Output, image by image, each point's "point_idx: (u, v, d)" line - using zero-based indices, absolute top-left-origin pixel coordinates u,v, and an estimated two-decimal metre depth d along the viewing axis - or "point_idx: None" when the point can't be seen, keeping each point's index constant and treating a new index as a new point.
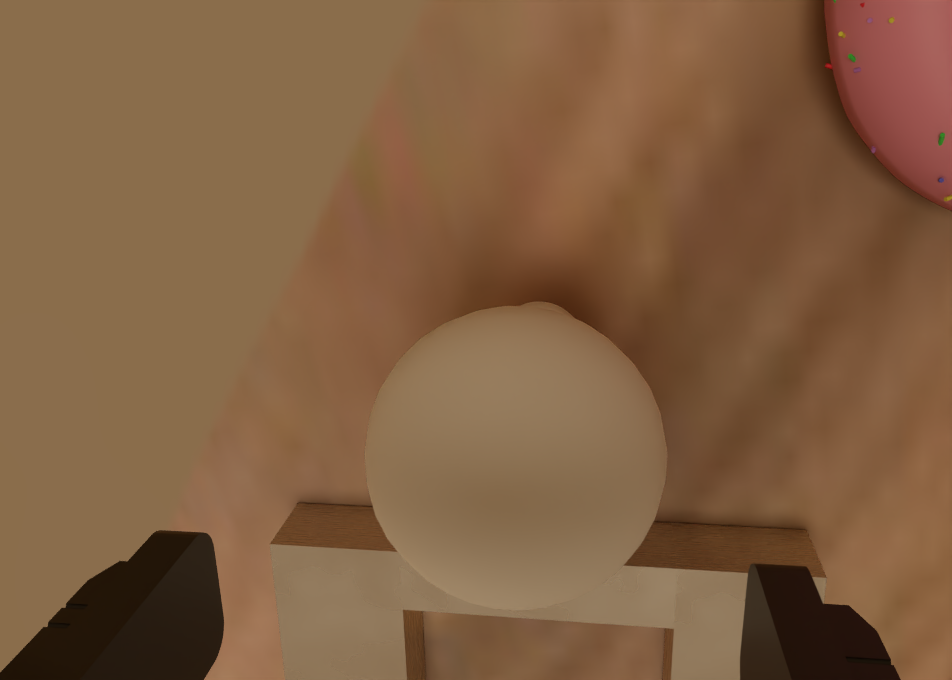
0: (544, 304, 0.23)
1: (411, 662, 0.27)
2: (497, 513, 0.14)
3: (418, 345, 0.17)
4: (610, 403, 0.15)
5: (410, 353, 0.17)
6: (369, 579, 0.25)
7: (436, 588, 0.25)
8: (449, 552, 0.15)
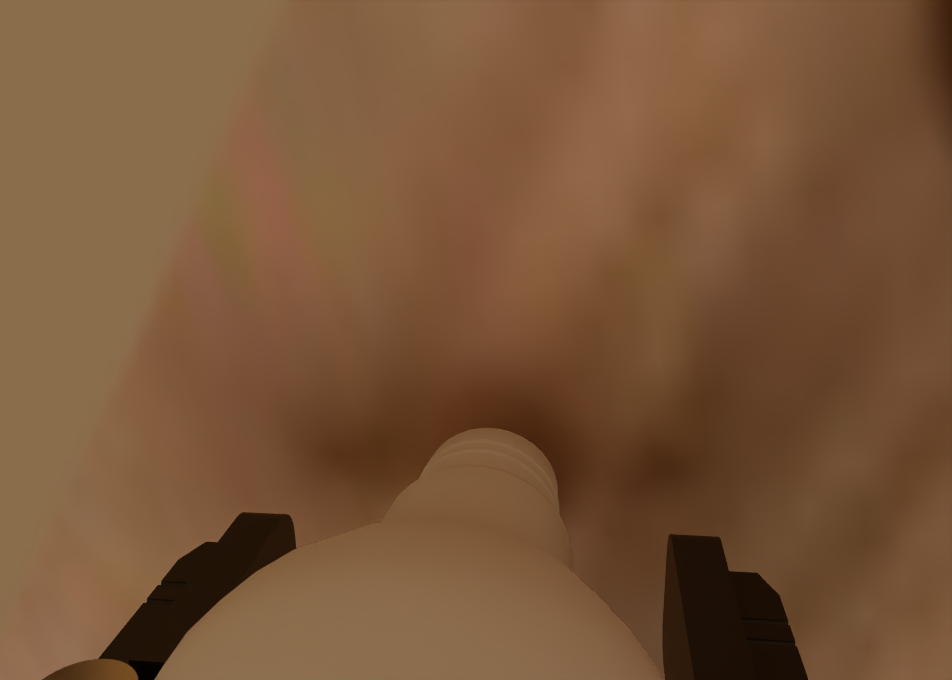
0: (496, 435, 0.15)
1: None
2: None
3: (205, 631, 0.08)
4: None
5: (188, 649, 0.08)
6: None
7: None
8: None
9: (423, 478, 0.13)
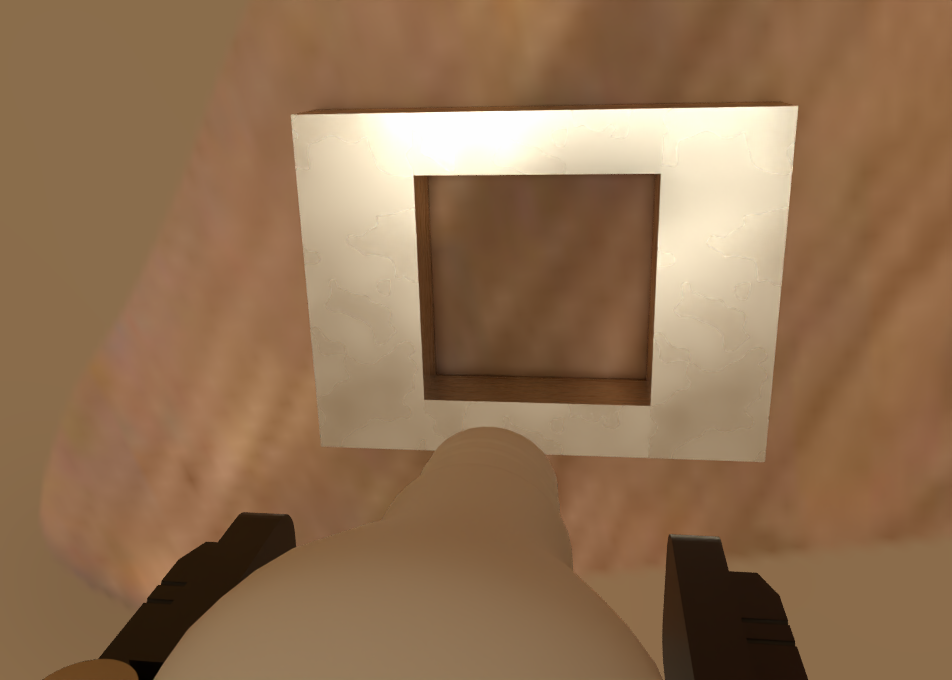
0: (496, 434, 0.15)
1: (420, 244, 0.29)
2: None
3: (205, 629, 0.08)
4: None
5: (188, 647, 0.08)
6: (382, 145, 0.28)
7: (444, 149, 0.28)
8: None
9: (423, 477, 0.13)
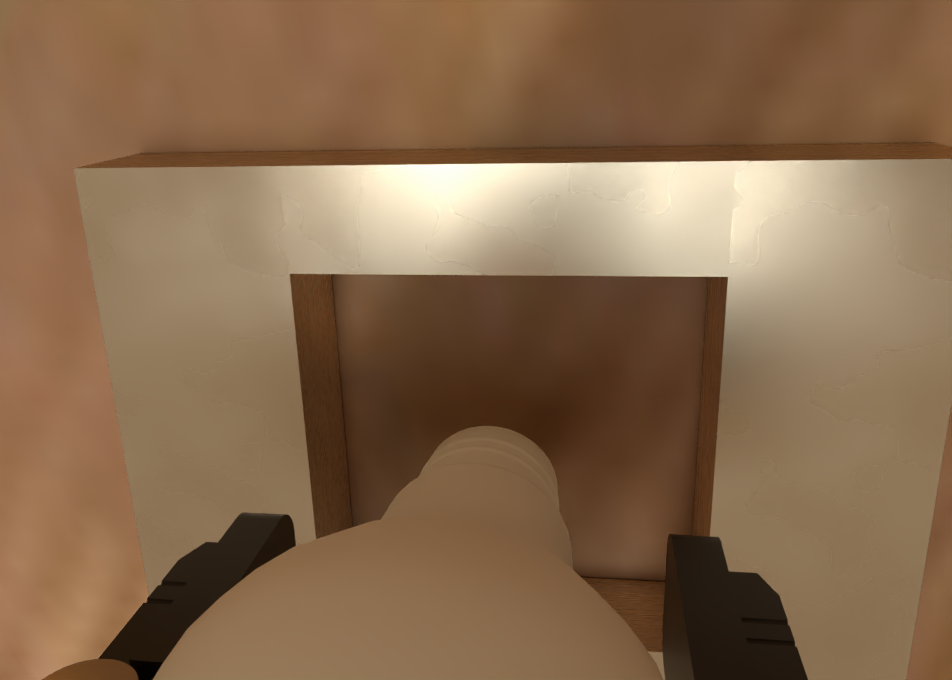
0: (496, 434, 0.15)
1: (312, 383, 0.17)
2: None
3: (205, 628, 0.08)
4: None
5: (188, 646, 0.08)
6: (233, 222, 0.16)
7: (341, 230, 0.16)
8: None
9: (423, 476, 0.13)
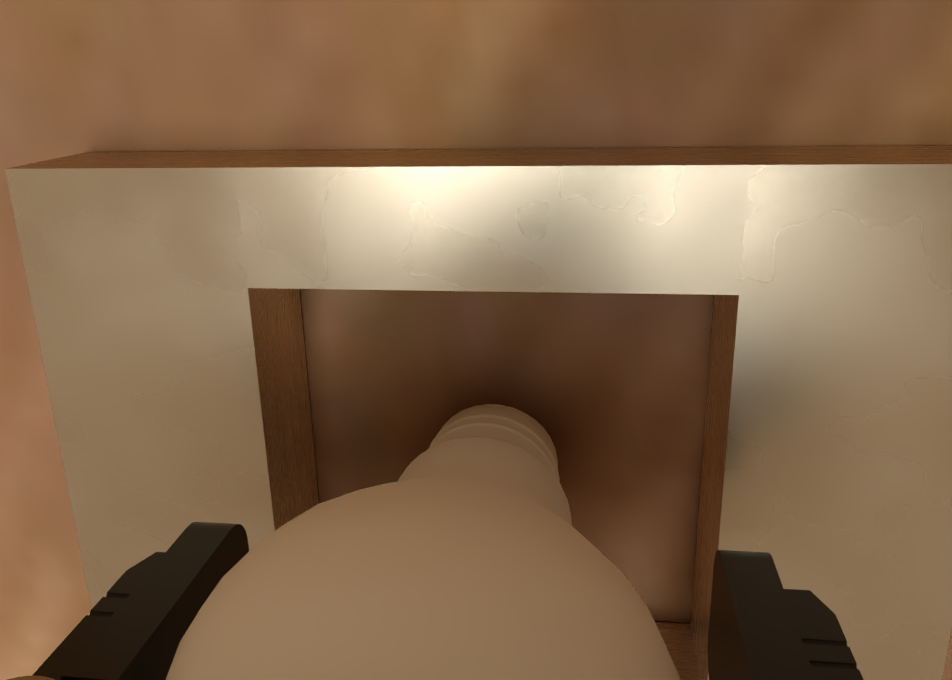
0: (500, 411, 0.16)
1: (276, 407, 0.16)
2: None
3: (242, 573, 0.09)
4: None
5: (226, 589, 0.09)
6: (185, 230, 0.14)
7: (305, 240, 0.14)
8: None
9: (432, 448, 0.14)
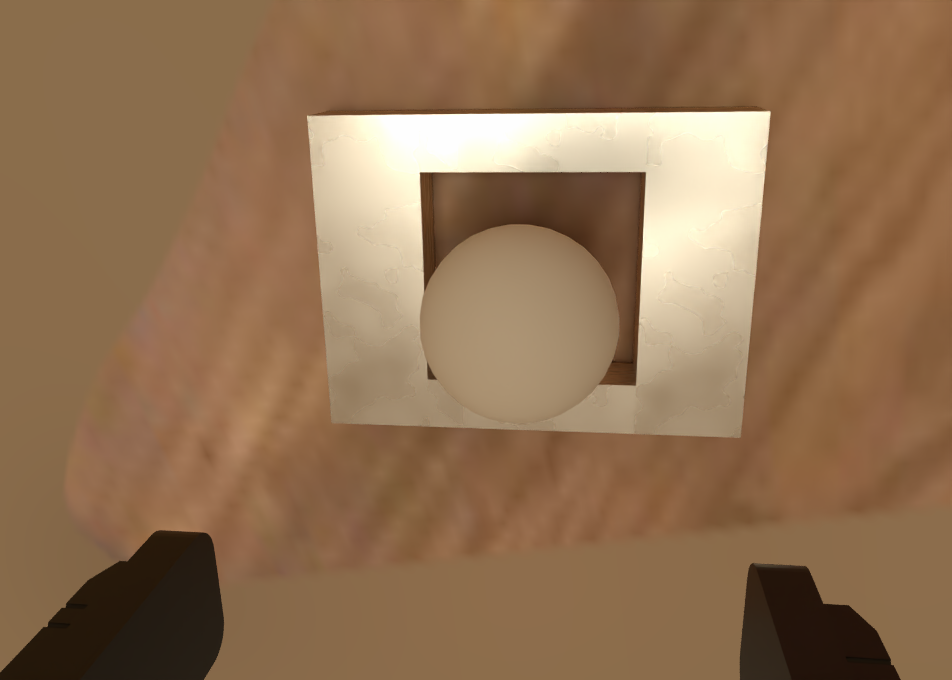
0: None
1: (425, 236, 0.32)
2: (511, 344, 0.23)
3: (456, 248, 0.25)
4: (582, 279, 0.24)
5: (451, 253, 0.25)
6: (391, 144, 0.30)
7: (448, 149, 0.30)
8: (480, 372, 0.24)
9: None
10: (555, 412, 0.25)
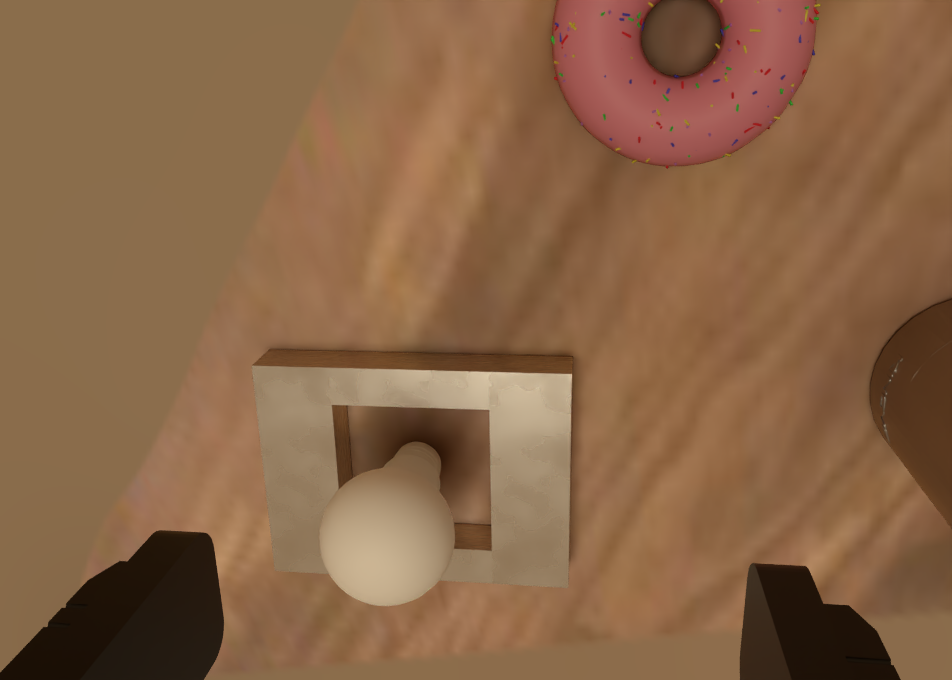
0: (419, 444, 0.44)
1: (339, 443, 0.44)
2: (371, 567, 0.36)
3: (342, 489, 0.38)
4: (420, 520, 0.36)
5: (339, 493, 0.38)
6: (311, 386, 0.43)
7: (351, 390, 0.42)
8: (353, 582, 0.36)
9: (393, 458, 0.43)
10: (407, 601, 0.37)
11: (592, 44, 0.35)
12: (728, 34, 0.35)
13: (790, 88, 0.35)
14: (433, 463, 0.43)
